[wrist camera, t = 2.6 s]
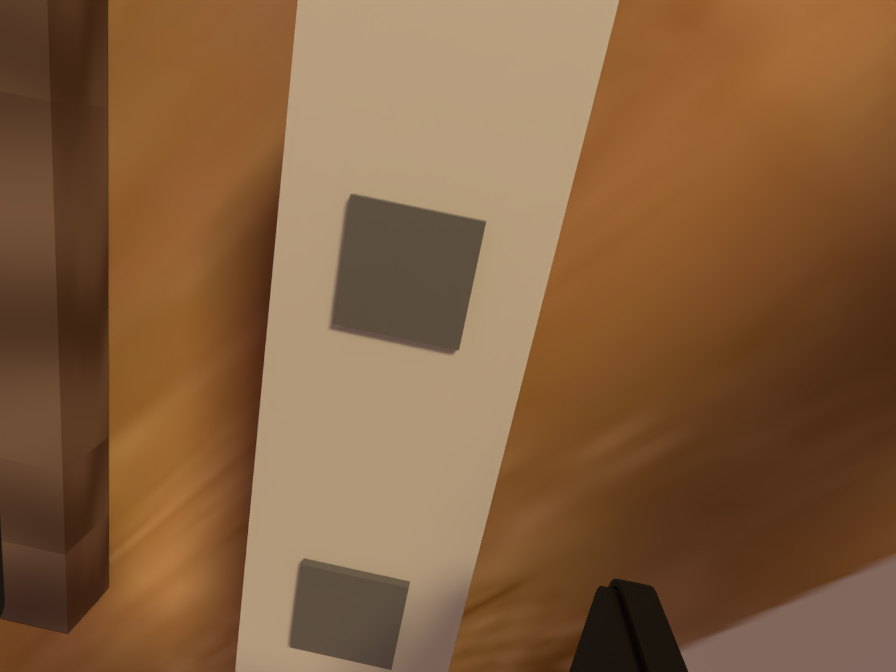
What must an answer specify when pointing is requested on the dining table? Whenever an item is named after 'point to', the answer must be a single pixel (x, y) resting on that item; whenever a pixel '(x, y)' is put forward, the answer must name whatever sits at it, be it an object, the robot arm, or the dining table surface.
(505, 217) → the power strip
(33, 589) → the slot board
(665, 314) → the dining table surface
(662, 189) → the dining table surface
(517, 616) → the dining table surface
